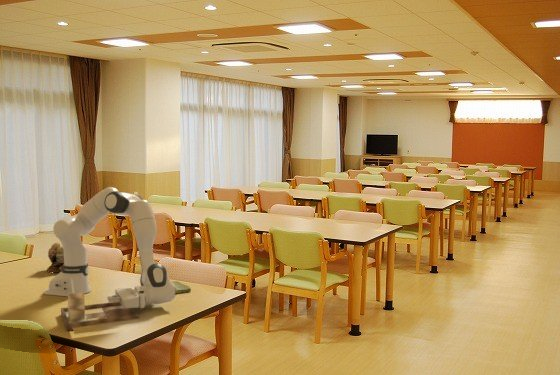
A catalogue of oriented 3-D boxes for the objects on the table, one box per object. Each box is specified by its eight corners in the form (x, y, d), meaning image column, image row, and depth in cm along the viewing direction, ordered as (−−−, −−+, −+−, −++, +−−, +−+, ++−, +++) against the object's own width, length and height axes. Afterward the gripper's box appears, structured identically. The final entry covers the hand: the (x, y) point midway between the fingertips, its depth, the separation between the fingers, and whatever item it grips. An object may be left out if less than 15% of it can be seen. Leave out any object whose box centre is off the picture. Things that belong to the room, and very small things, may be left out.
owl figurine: (75, 272, 334) (74, 243, 332) (55, 275, 325) (54, 245, 324) (62, 266, 346) (61, 238, 345) (42, 269, 338) (41, 241, 336)
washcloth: (169, 296, 286) (169, 290, 285) (154, 288, 300) (154, 282, 299) (192, 292, 294) (192, 286, 293) (177, 285, 307) (176, 279, 307)
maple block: (83, 314, 249) (82, 292, 248) (84, 318, 244) (84, 295, 243) (68, 316, 246) (67, 293, 245) (69, 320, 241) (69, 297, 240)
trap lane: (127, 306, 267) (127, 300, 266) (138, 321, 245) (138, 314, 245) (61, 314, 254) (61, 308, 254) (67, 331, 232) (66, 324, 232)
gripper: (134, 283, 266) (104, 286, 260) (144, 294, 247) (111, 298, 241) (134, 296, 266) (104, 300, 260) (144, 309, 248) (112, 313, 242)
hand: (108, 299), depth 251 cm, fingers closed
